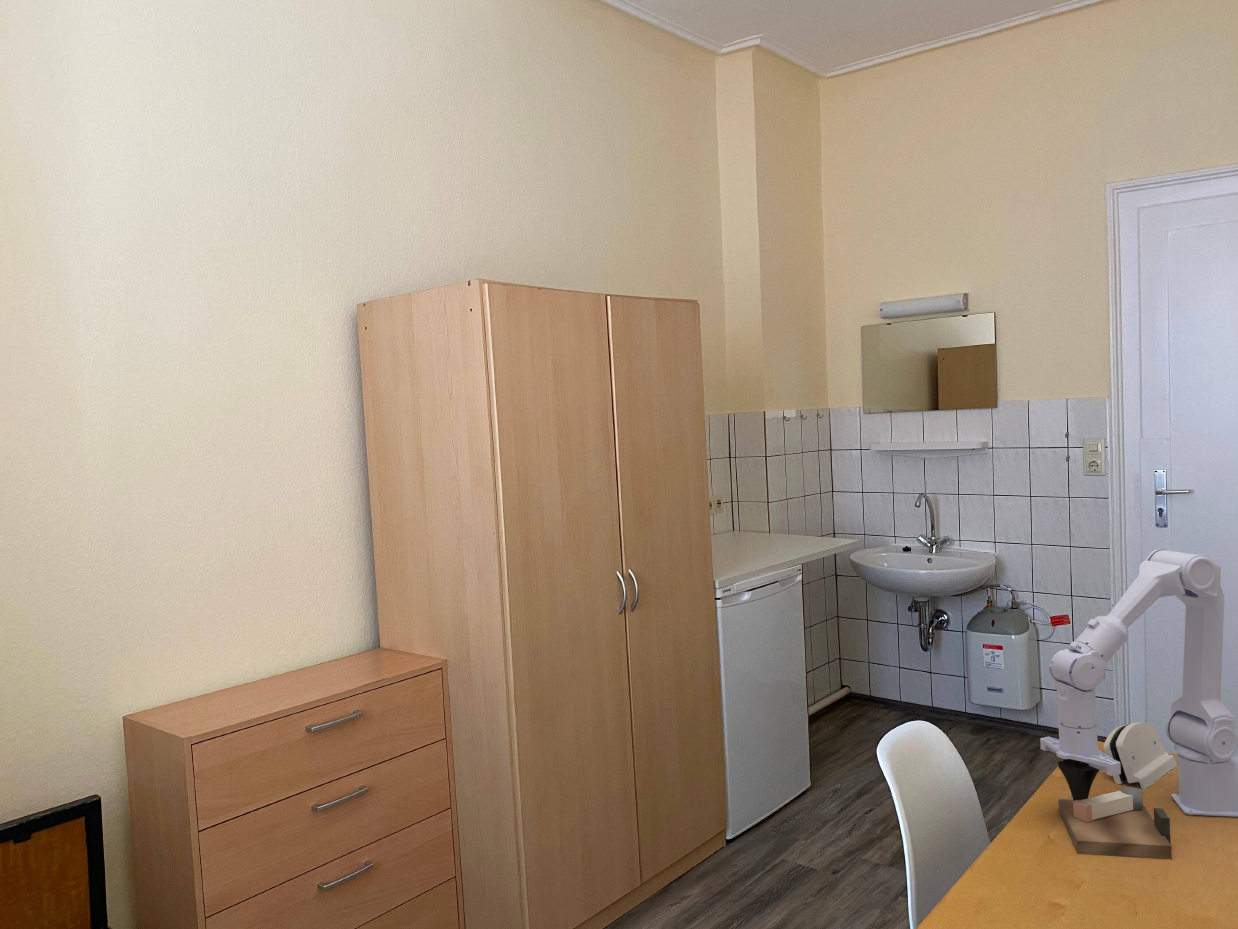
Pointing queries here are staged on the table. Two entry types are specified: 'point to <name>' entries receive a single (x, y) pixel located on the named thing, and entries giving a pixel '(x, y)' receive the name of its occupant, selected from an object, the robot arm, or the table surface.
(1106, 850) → the stool seat
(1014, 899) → the table surface
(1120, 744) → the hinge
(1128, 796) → the folding leg
